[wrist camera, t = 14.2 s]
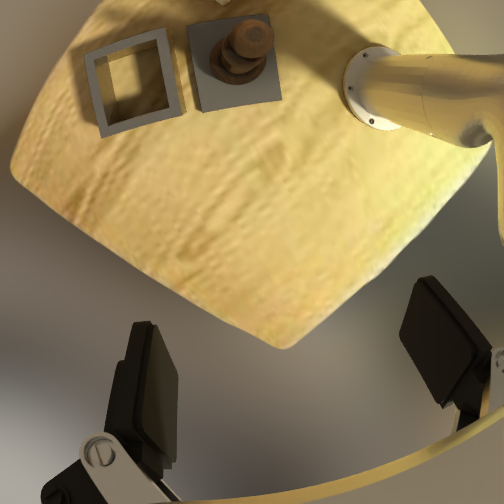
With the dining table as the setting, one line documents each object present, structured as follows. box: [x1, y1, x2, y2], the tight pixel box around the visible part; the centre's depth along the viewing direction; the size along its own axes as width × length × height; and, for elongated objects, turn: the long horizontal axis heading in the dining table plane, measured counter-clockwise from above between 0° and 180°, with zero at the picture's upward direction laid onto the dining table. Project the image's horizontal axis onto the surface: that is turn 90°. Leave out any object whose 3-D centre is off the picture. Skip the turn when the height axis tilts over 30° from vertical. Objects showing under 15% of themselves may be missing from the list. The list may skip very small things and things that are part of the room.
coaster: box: [186, 14, 282, 113], centre depth 31 cm, size 10×12×1 cm
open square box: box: [84, 27, 187, 139], centre depth 29 cm, size 10×11×5 cm
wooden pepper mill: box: [209, 19, 274, 85], centre depth 23 cm, size 7×6×18 cm
